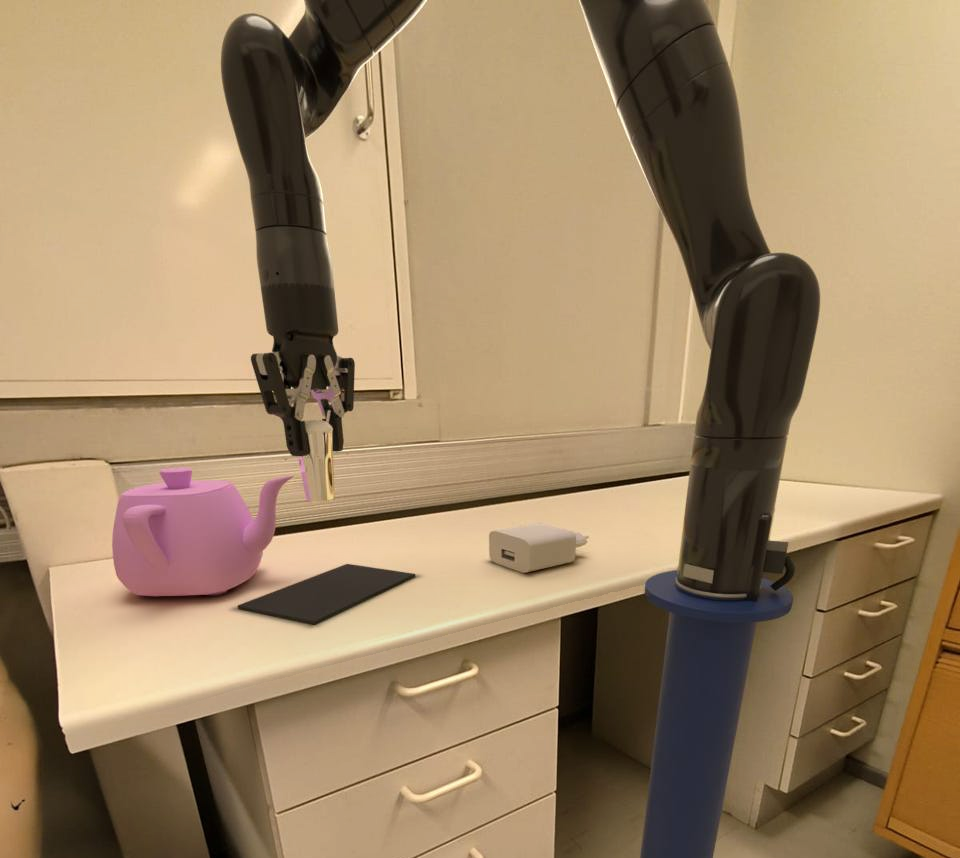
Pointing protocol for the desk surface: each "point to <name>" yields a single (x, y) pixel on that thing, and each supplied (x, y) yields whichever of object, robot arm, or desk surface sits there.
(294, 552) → the desk surface
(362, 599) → the mat
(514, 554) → the charger
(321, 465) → the milkshake
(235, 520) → the teapot
